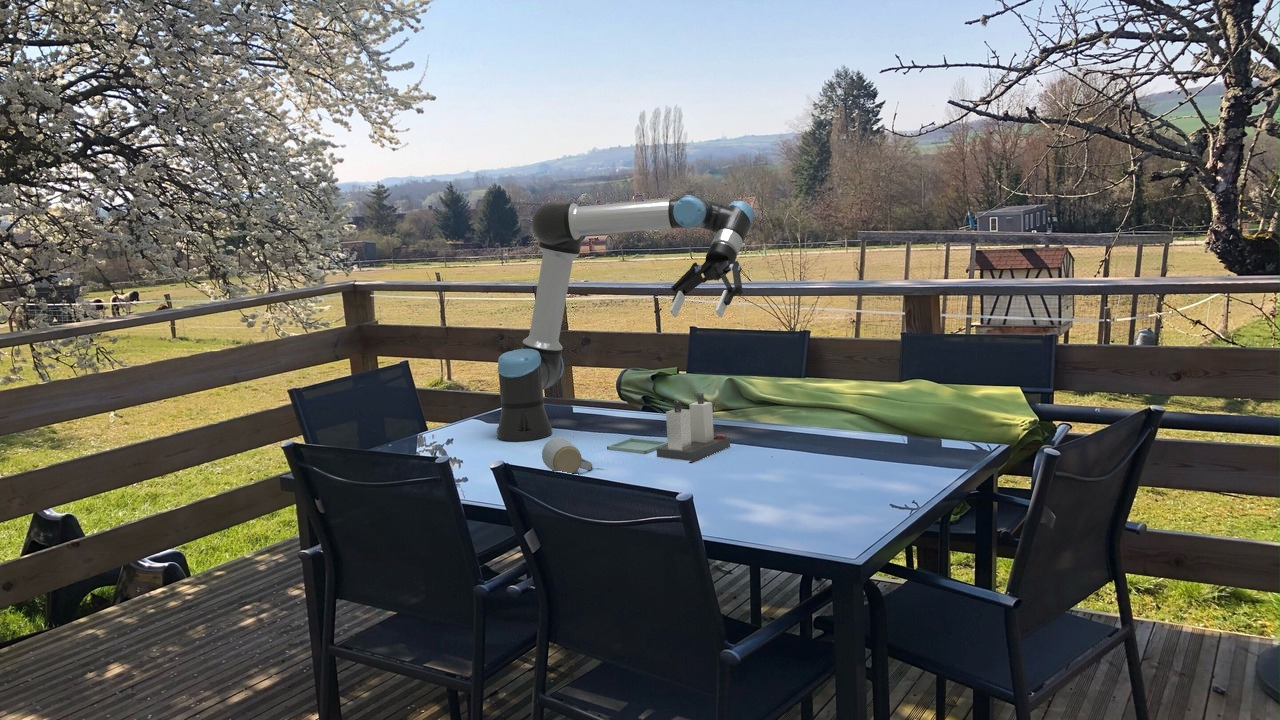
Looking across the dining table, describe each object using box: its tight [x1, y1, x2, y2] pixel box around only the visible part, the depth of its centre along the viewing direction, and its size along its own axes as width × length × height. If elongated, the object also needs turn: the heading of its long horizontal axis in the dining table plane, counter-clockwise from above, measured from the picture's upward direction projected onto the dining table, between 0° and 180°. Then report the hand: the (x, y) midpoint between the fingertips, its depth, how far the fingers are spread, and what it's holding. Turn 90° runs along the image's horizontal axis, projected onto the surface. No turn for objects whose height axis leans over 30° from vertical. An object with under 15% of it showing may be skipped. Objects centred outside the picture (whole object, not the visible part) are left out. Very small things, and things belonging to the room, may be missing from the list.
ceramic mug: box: [541, 436, 593, 474], centre depth 204 cm, size 11×8×8 cm
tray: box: [606, 437, 668, 455], centre depth 222 cm, size 12×10×1 cm
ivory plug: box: [688, 392, 715, 443], centre depth 218 cm, size 4×4×13 cm
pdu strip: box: [656, 399, 731, 464], centre depth 215 cm, size 10×17×14 cm, turn 144°
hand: (695, 313), depth 223 cm, fingers open, 13 cm apart
